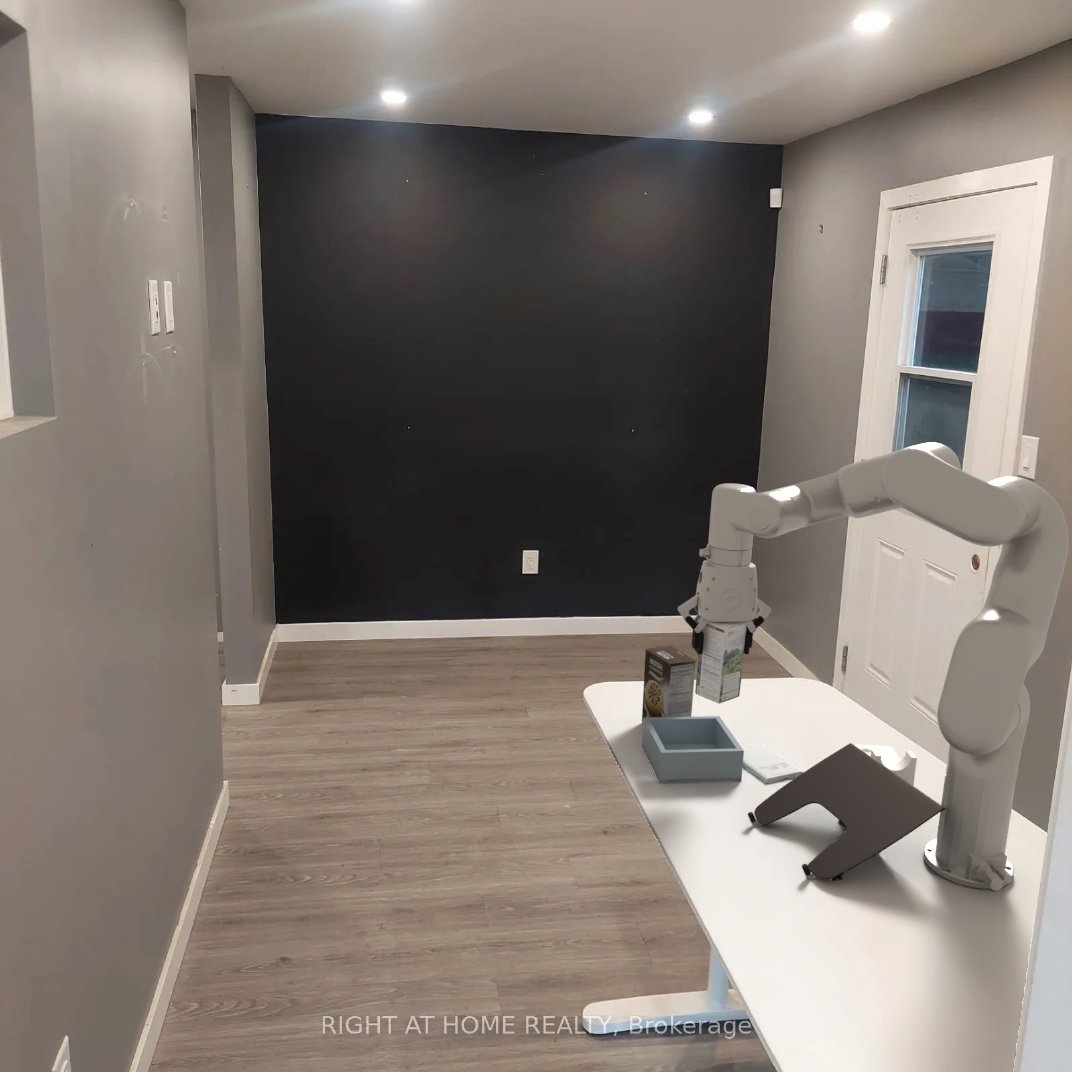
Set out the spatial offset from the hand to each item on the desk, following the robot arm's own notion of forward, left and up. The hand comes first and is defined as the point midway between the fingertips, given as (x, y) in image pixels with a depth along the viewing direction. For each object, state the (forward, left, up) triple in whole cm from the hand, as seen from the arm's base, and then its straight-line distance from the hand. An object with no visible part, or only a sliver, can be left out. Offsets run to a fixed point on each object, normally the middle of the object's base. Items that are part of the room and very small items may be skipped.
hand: (721, 651), depth 167 cm
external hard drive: (+3, -11, -24) cm, 27 cm away
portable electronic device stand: (-24, -13, -24) cm, 36 cm away
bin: (+4, +3, -24) cm, 24 cm away
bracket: (-3, -31, -24) cm, 39 cm away
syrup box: (0, 0, -9) cm, 9 cm away
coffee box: (+19, +4, -24) cm, 31 cm away
